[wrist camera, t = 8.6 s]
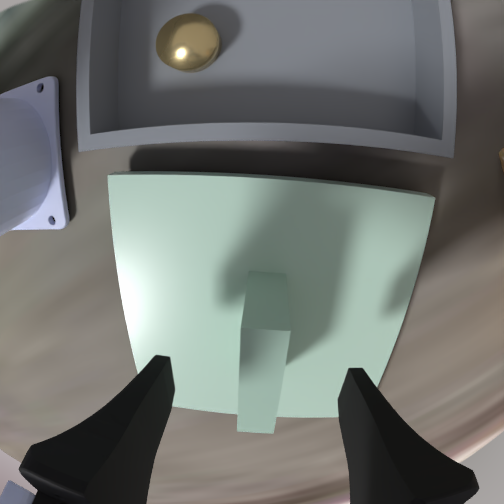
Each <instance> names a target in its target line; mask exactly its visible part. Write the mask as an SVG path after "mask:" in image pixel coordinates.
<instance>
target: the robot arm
mask: <svg viewBox="0 0 504 504" xmlns="http://www.w3.org/2000/svg"><path fill="white" fill-rule="evenodd" d="M42 85H44V89H43V91H41V87H42ZM52 216H53V217H54V218H55V222H54V221H53V218H52ZM68 224H69V213H68V206H67V200H66V193H65V185H64V177H63V167H62V157H61V145H60V129H59V83H58V79H57V78H56V77H54V76H48V77H45V78H42V79H39V80H36V81H33V82H30V83H28V84H25V85H22V86H20V87H17V88H15V89H12V90H10V91H7V92H5V93H3V94H0V236H1V235H3V234H4V233H6V232H8V231H9V230H34V229H63V228H65V227H66V226H67V225H68ZM174 394H175V384H174V377H173V371H172V365H171V358H170V357H169V356H162V355H155V356H154V357H153V358H152V359H151V360H150V361H149V363H148V364H147V365H146V366H145V367H144V368H143V369H142V370H141V371H140V373H139V374H138V375H137V376H136V377H135V378H134V379H133V380H132V381H131V382H130V383H129V384H128V385H127V386H126V387H125V388H124V389H123V390H122V391H121V392H120V393H119V394H118V395H116V396H115V397H114V398H113V399H112V400H111V401H110V402H109V403H107V404H106V405H105V406H104V407H102V408H101V409H100V410H99V411H97V412H96V413H95V414H93V415H92V416H90V417H89V418H87V419H86V420H84V421H83V422H81V423H79V424H78V425H76V426H74V427H73V428H71V429H69V430H67V431H65V432H63V433H61V434H59V435H57V436H55V437H53V438H50V439H48V440H45V441H42V442H39V443H37V444H34V445H31V447H30V448H29V450H28V451H27V453H26V455H25V457H24V459H23V461H22V463H21V465H20V467H19V471H20V473H21V475H22V476H23V477H24V478H25V479H26V480H27V481H28V482H29V483H30V484H31V485H32V486H34V487H35V488H36V489H37V490H38V491H37V493H36V495H34V494H33V493H31V492H30V491H28V490H26V489H24V488H23V487H20V486H19V485H17V484H15V483H14V482H12V481H8V482H7V484H6V486H5V488H4V490H3V492H2V495H1V497H0V504H146V502H147V495H148V489H149V484H150V478H151V473H152V468H153V464H154V459H155V456H156V452H157V449H158V446H159V444H160V441H161V438H162V435H163V432H164V429H165V427H166V424H167V421H168V418H169V415H170V412H171V408H172V404H173V399H174ZM337 401H338V414H339V423H340V428H341V433H342V438H343V443H344V448H345V452H346V457H347V462H348V469H349V482H350V504H464V503H465V502H466V501H467V500H469V499H470V498H471V497H472V496H473V495H475V494H476V493H477V491H478V490H479V485H478V482H477V479H476V477H475V474H474V472H473V470H471V469H469V468H467V467H465V466H463V465H461V464H459V463H457V462H455V461H454V460H452V459H450V458H449V457H447V456H446V455H444V454H443V453H441V452H440V451H438V450H437V449H435V448H434V447H433V446H432V445H430V444H429V443H428V442H426V441H425V440H424V439H423V438H422V437H420V436H419V435H418V434H417V433H416V432H415V431H414V430H413V429H412V428H411V427H410V426H409V425H408V424H407V423H406V422H405V421H404V420H403V419H402V418H401V417H400V416H399V415H398V413H397V412H396V411H395V410H394V409H393V408H392V406H391V405H390V404H389V403H388V401H387V400H386V399H385V397H384V396H383V395H382V394H381V392H380V391H379V390H378V388H377V387H376V385H375V384H374V383H373V381H372V380H371V379H370V377H369V376H368V374H367V373H366V372H365V370H364V369H363V368H348V371H347V374H346V377H345V380H344V383H343V385H342V388H341V391H340V394H339V397H338V399H337Z"/></svg>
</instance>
